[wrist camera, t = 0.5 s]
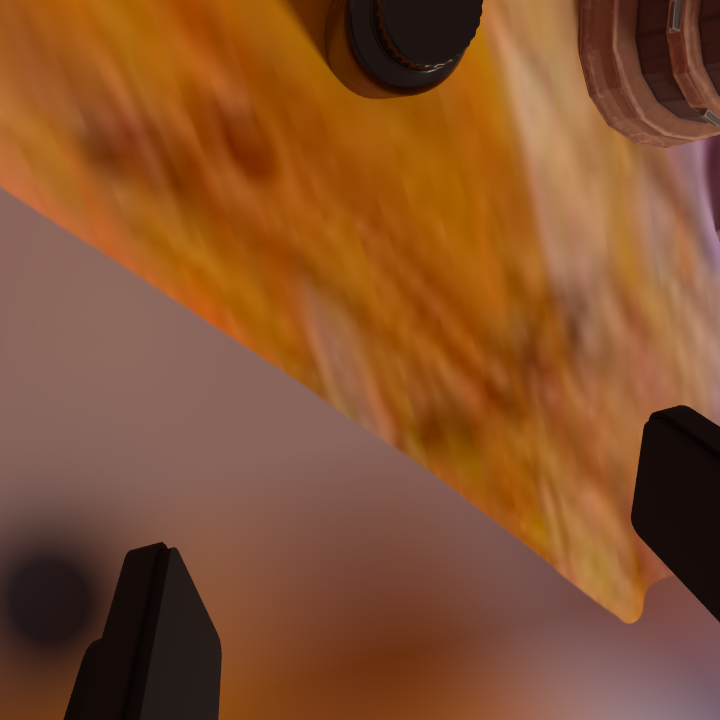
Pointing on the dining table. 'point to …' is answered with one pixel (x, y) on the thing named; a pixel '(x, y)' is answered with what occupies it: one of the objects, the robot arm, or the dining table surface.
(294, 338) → the dining table surface
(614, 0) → the mug
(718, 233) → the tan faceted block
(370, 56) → the supplement bottle
